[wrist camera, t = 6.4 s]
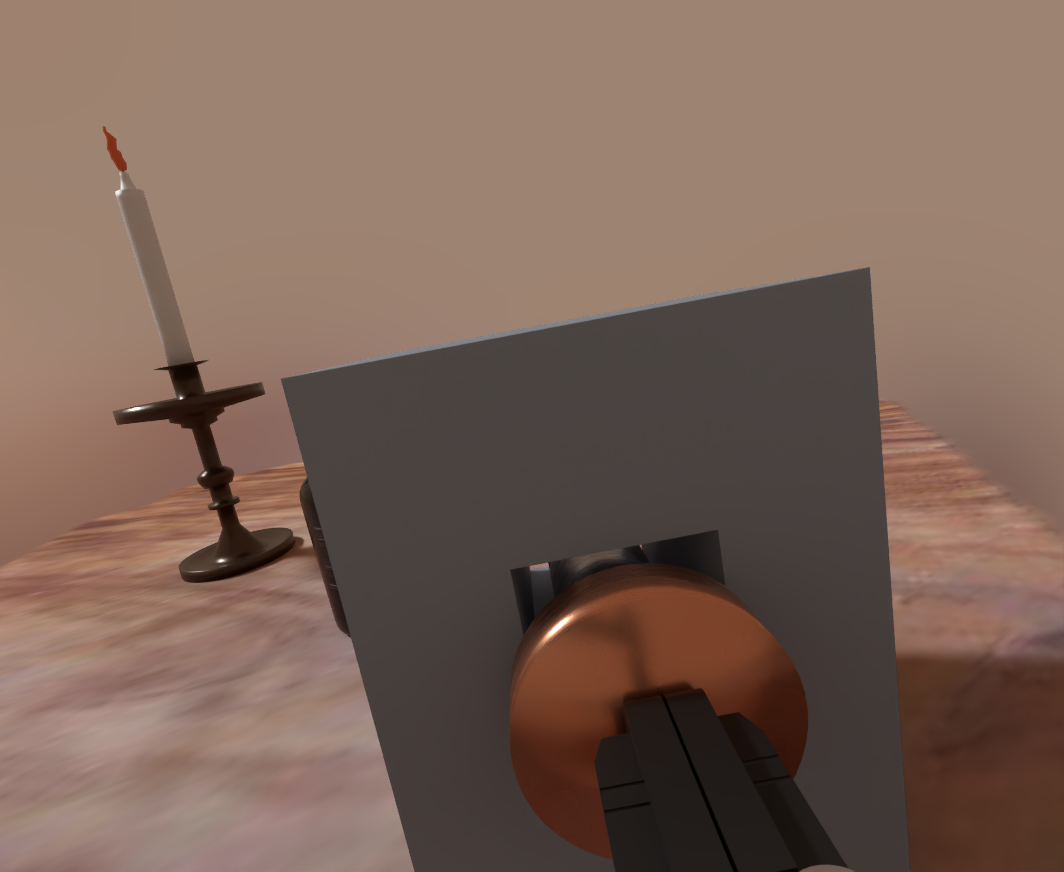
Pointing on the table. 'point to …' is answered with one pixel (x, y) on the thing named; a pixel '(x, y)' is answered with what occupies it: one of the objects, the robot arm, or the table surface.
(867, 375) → the block with square hole
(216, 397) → the candlestick
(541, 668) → the pin
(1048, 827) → the table surface
